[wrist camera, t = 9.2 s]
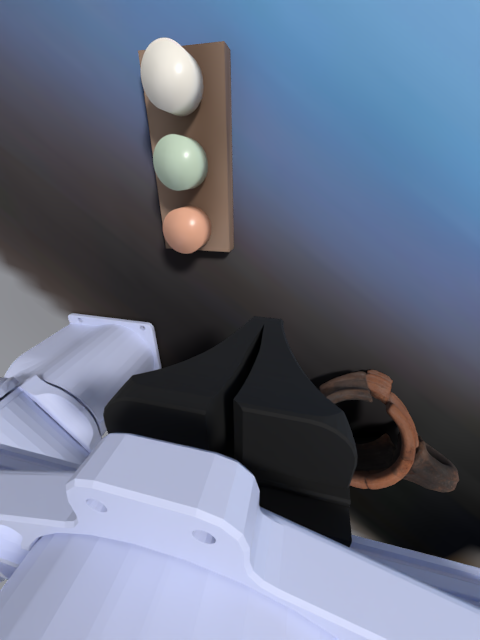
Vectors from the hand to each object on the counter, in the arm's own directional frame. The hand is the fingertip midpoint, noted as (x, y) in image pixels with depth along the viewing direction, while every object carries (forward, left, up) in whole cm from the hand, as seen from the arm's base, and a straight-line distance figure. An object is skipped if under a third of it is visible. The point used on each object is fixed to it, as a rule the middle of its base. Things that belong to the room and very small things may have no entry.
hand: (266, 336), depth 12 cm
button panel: (-6, +7, -9) cm, 13 cm away
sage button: (-6, +7, -8) cm, 12 cm away
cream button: (-6, +11, -8) cm, 15 cm away
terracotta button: (-6, +3, -8) cm, 11 cm away
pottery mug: (+8, -13, -10) cm, 18 cm away
